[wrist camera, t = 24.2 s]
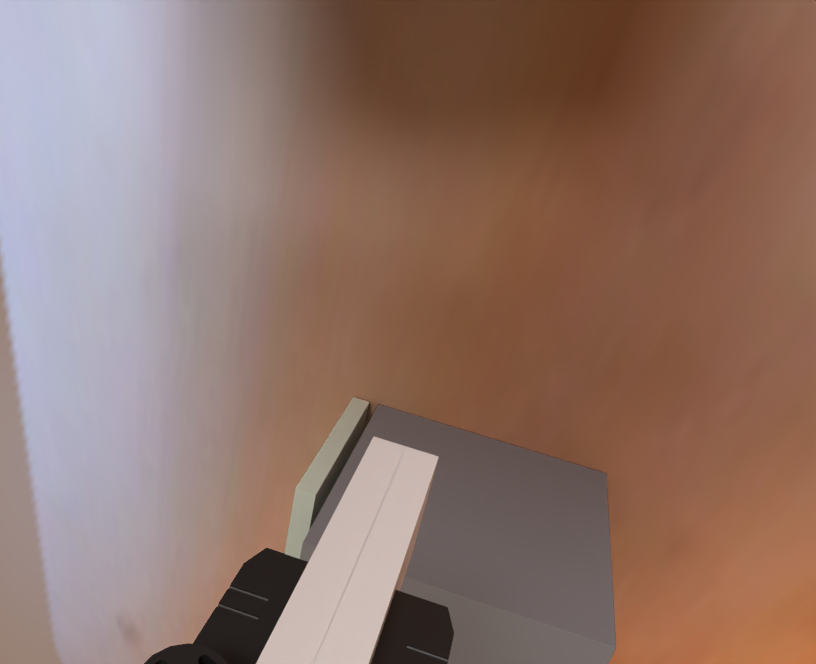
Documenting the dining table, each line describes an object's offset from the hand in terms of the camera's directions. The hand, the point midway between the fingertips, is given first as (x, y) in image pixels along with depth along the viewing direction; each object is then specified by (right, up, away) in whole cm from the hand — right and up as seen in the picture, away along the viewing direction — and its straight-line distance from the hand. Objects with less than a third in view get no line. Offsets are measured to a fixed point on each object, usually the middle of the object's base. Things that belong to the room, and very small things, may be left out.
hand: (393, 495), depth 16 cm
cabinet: (+4, -12, +36) cm, 38 cm away
